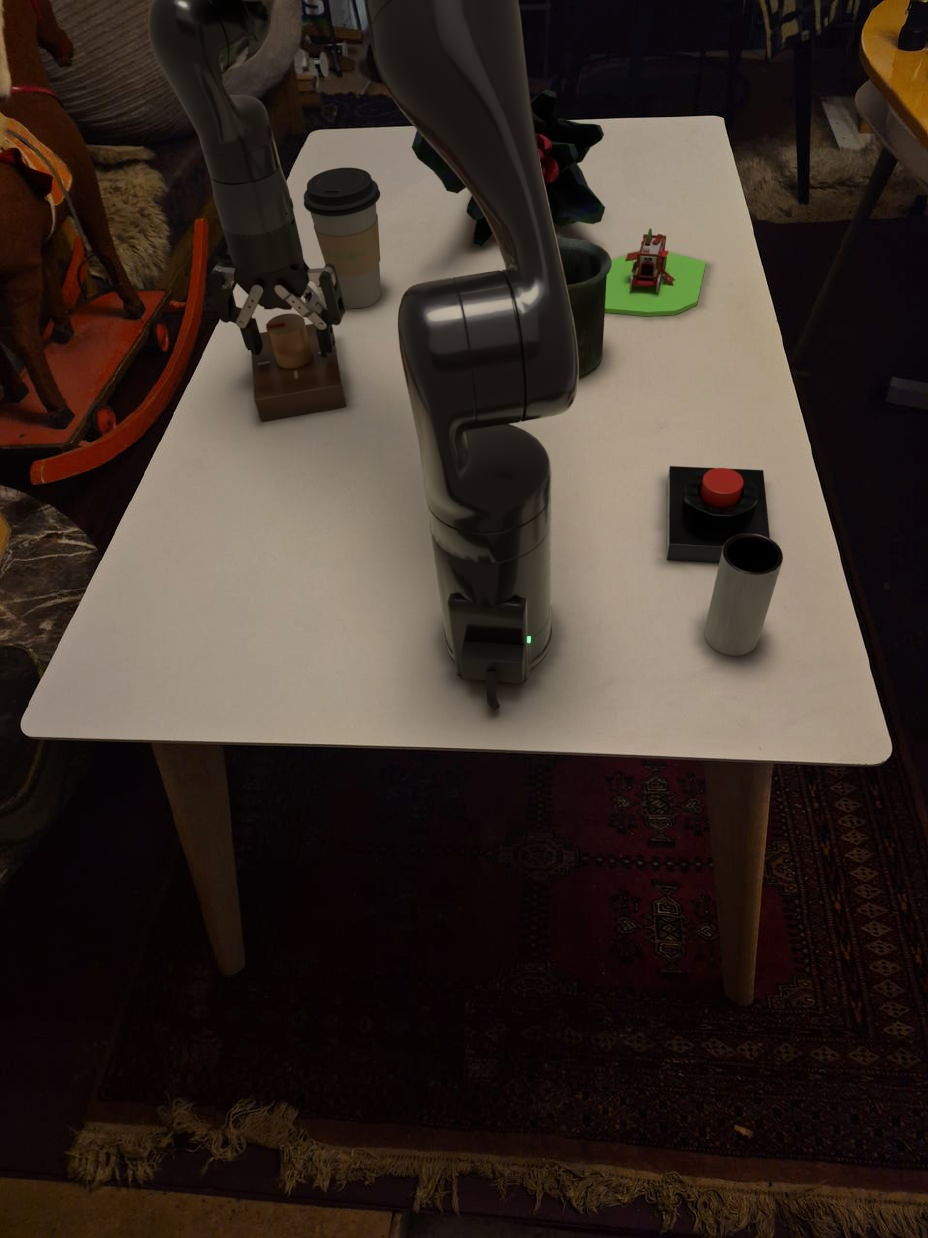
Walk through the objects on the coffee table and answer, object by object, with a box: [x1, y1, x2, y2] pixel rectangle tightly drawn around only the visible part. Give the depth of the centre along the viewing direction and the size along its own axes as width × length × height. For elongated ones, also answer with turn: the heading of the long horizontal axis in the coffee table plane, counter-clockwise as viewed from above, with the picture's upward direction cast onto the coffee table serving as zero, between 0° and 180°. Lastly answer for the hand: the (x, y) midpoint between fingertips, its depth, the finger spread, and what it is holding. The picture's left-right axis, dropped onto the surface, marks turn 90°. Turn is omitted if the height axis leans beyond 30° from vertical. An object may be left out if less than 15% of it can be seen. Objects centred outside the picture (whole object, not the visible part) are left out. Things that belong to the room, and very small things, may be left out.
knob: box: [265, 312, 312, 369], centre depth 99 cm, size 4×4×5 cm
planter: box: [704, 533, 784, 657], centre depth 70 cm, size 4×4×10 cm
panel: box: [251, 323, 348, 423], centre depth 102 cm, size 14×10×3 cm
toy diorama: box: [605, 227, 707, 317], centre depth 109 cm, size 15×15×6 cm
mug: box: [556, 237, 612, 377], centre depth 98 cm, size 11×15×12 cm
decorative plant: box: [411, 88, 606, 248], centre depth 115 cm, size 21×26×30 cm
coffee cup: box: [303, 167, 382, 309], centre depth 109 cm, size 9×9×15 cm
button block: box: [666, 465, 771, 564], centre depth 81 cm, size 11×9×4 cm
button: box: [701, 467, 743, 507], centre depth 79 cm, size 4×4×2 cm
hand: (292, 352), depth 100 cm, fingers open, 8 cm apart
